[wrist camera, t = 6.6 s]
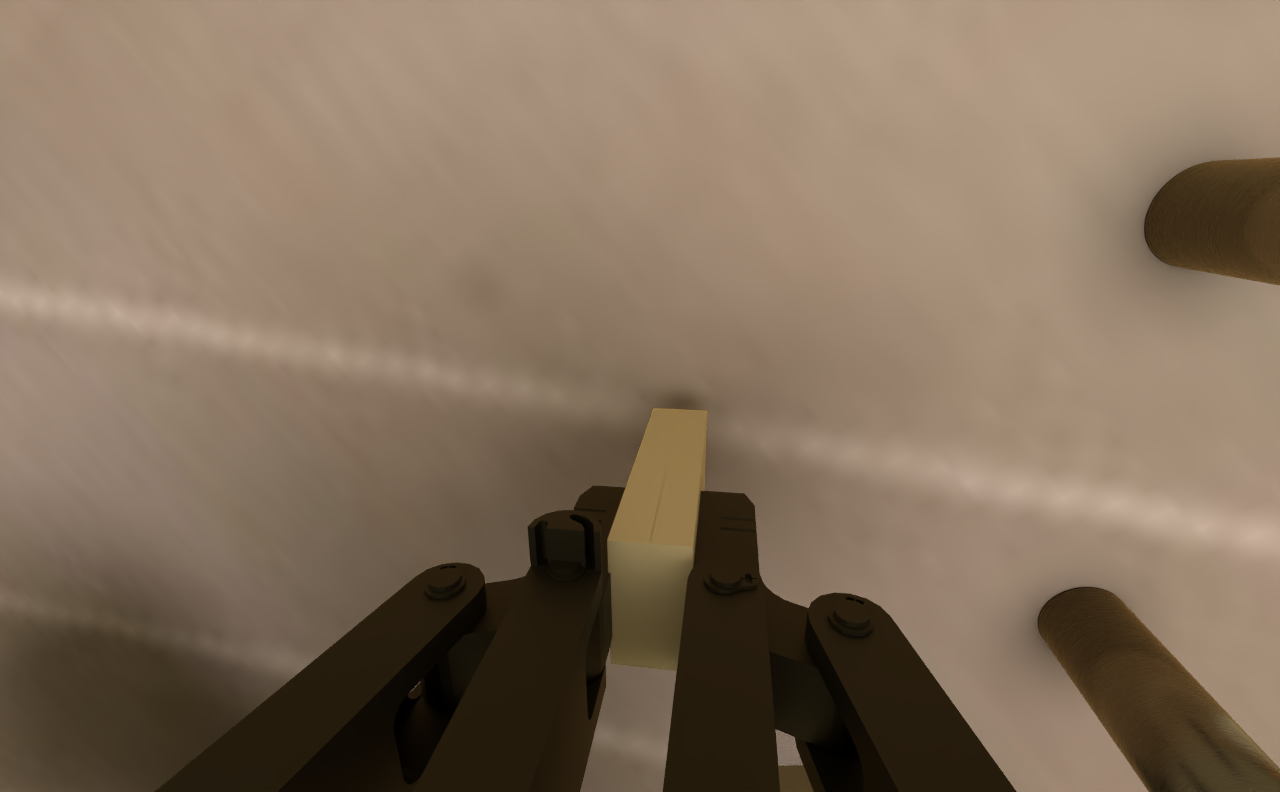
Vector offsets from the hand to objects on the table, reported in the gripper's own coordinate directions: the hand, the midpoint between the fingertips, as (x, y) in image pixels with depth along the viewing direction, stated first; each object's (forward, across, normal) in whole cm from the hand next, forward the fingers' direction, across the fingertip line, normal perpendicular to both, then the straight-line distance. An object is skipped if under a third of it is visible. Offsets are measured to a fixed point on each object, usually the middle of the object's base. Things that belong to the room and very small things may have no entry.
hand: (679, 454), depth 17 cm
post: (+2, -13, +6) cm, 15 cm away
